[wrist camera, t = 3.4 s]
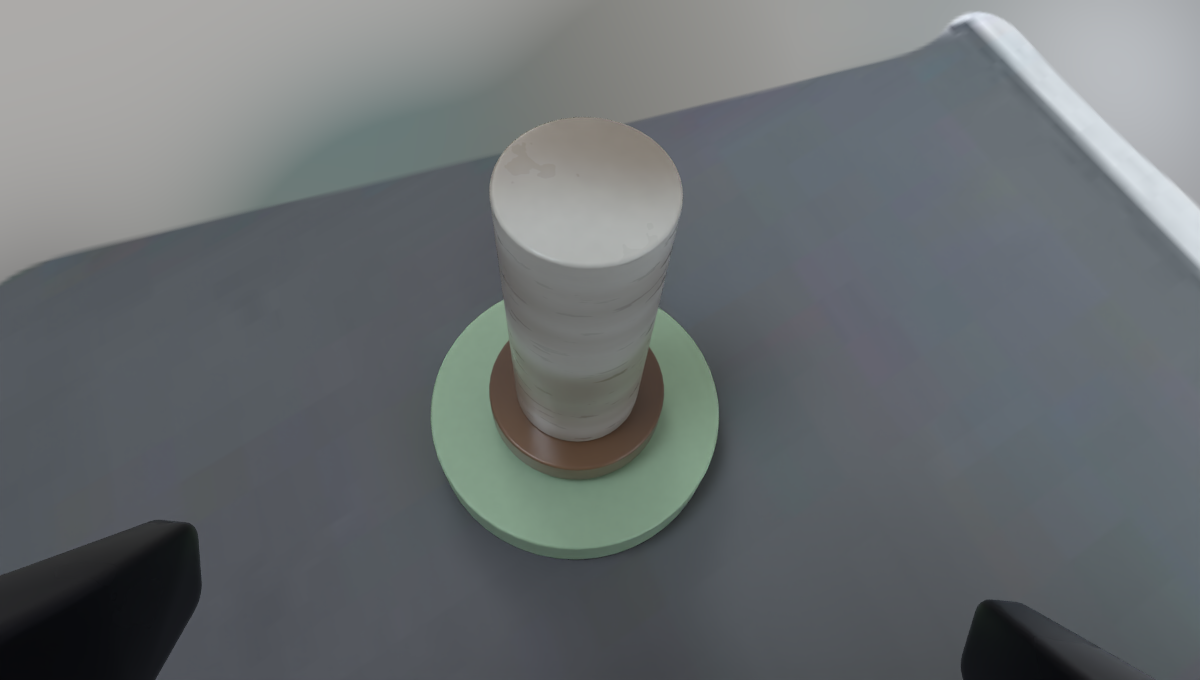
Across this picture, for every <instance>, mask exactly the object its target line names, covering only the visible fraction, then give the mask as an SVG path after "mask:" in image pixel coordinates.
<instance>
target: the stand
mask: <svg viewBox="0 0 1200 680" xmlns="http://www.w3.org/2000/svg"><path fill="white" fill-rule="evenodd" d="M508 340H509V335H508V327H507V320H506V313H505V306H504V300H502V301H500V302H499V303H497V304H495V305H493V306H492V307H491V308H489V309H488V310H486V311H485V312H484V313H482V314H481V315H479V316H478V317H477V318H476V319H475V320H474V321H473V322H472V323H471V324H470V325H469V326H467V328H466V329H465V330H464V331H463V332H462V334H461V335H460V336H459V337H458V338H457V339H456V341H455V342H454V344H453V345H452V347H451V349H450V350H449V352H448V353H447V355H446V357H445V359H444V361H443V363H442V365H441V367H440V370H439V373H438V376H437V379H436V382H435V385H434V390H433V396H432V402H431V428H432V437H433V442H434V446H435V449H436V453H437V457H438V459H439V462H440V464H441V466H442V468H443V471H444V473H445V475H446V477H447V479H448V481H449V484H450V486H451V488H452V489H453V491H454V493H455V494H456V496H457V497H458V499H459V501H460V502H461V504H462V505H463V506H464V507H465V508H466V510H467V511H468V512H469V513H470V514H471V516H472V517H473V518H474V519H475V520H477V521H478V522H479V523H480V524H481V525H482V526H483V527H484V528H485V529H486V530H488V531H489V532H491V533H492V534H494V535H495V536H497V537H498V538H500V539H501V540H503V541H505V542H507V543H509V544H511V545H513V546H515V547H517V548H519V549H522V550H525V551H528V552H531V553H534V554H537V555H541V556H547V557H552V558H557V559H589V558H598V557H603V556H607V555H612V554H616V553H619V552H621V551H624V550H627V549H629V548H632V547H634V546H636V545H638V544H640V543H642V542H644V541H646V540H648V539H649V538H651V537H652V536H654V535H655V534H657V533H658V532H659V531H661V530H662V529H663V528H665V527H666V526H667V525H668V524H669V523H670V522H671V521H672V520H673V519H674V518H675V517H676V516H677V515H678V514H679V513H680V512H681V511H682V509H683V508H684V507H685V506H686V504H687V503H688V502H689V500H690V499H691V497H692V496H693V494H694V492H695V491H696V489H697V487H698V485H699V484H700V482H701V480H702V479H703V477H704V475H705V473H706V472H707V469H708V467H709V464H710V462H711V459H712V457H713V454H714V450H715V445H716V441H717V437H718V426H719V407H718V398H717V393H716V387H715V384H714V381H713V378H712V375H711V372H710V369H709V367H708V365H707V363H706V361H705V359H704V357H703V354H702V353H701V351H700V350H699V348H698V347H697V345H696V344H695V342H694V341H693V339H692V338H691V337H690V336H689V335H688V333H687V332H686V331H685V330H684V329H683V328H682V326H680V325H679V324H678V323H677V322H676V321H675V320H674V319H673V318H672V317H671V316H670V315H668V314H667V313H665V312H664V311H663V310H661V309H660V308H658V311H657V315H656V319H655V324H654V328H653V332H652V336H651V340H650V345H649V347H650V348H651V350H652V352H653V353H654V355H655V357H656V359H657V361H658V363H659V365H660V369H661V372H662V375H663V382H664V401H663V407H662V411H661V414H660V418H659V421H658V424H657V427H656V429H655V431H654V433H653V436H652V438H651V439H650V441H649V442H648V444H647V445H646V447H645V448H644V449H643V450H642V451H641V453H640V454H639V455H638V456H636V457H635V458H634V459H633V460H632V461H631V462H629V463H628V464H626V465H625V466H623V467H622V468H620V469H618V470H616V471H614V472H612V473H609V474H606V475H603V476H600V477H596V478H591V479H580V480H574V479H563V478H557V477H553V476H550V475H547V474H544V473H541V472H539V471H537V470H535V469H533V468H531V467H530V466H528V465H527V464H525V463H523V462H522V461H521V460H520V459H519V458H518V457H516V456H515V455H514V454H513V453H512V452H511V450H510V449H509V448H508V447H507V446H506V444H505V443H504V441H503V440H502V438H501V436H500V434H499V432H498V430H497V428H496V425H495V421H494V418H493V414H492V410H491V404H490V398H489V383H490V376H491V372H492V369H493V365H494V363H495V361H496V358H497V356H498V355H499V353H500V351H501V350H502V348H503V347H504V345H505V344H506V343H507V342H508Z"/></svg>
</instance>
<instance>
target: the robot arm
mask: <svg viewBox="0 0 1200 680" xmlns="http://www.w3.org/2000/svg"><path fill="white" fill-rule="evenodd" d="M201 586H202V582H201V569H200V555H199V541H198V534H197V531H196V529H195V527H194V526H193V525H191V524H190V523H186V522H176V521H165V520H153V521H150V522H147V523H144V524H142V525H139V526H136V527H133V528H131V529H128V530H125V531H122V532H120V533H117V534H114V535H111V536H109V537H106V538H103V539H100V540H98V541H95V542H92V543H89V544H87V545H84V546H81V547H78V548H76V549H73V550H70V551H67V552H65V553H62V554H59V555H56V556H53V557H51V558H48V559H45V560H42V561H40V562H37V563H34V564H31V565H29V566H26V567H23V568H20V569H18V570H15V571H12V572H9V573H7V574H4V575H1V576H0V680H155V679H156V677H157V676H158V674H159V672H160V670H161V669H162V667H163V665H164V663H165V662H166V660H167V658H168V656H169V655H170V653H171V651H172V649H173V648H174V646H175V644H176V642H177V640H178V639H179V637H180V635H181V633H182V632H183V630H184V628H185V626H186V625H187V623H188V621H189V619H190V618H191V616H192V614H193V612H194V611H195V609H196V607H197V604H198V601H199V598H200V594H201ZM961 672H962V677H963V680H1156V679H1154V678H1152V677H1150V676H1149V675H1147V674H1145V673H1143V672H1142V671H1140V670H1138V669H1136V668H1135V667H1133V666H1131V665H1129V664H1128V663H1126V662H1124V661H1122V660H1121V659H1119V658H1117V657H1115V656H1114V655H1112V654H1110V653H1108V652H1107V651H1105V650H1103V649H1101V648H1100V647H1098V646H1096V645H1094V644H1093V643H1091V642H1089V641H1087V640H1086V639H1084V638H1082V637H1080V636H1079V635H1077V634H1075V633H1073V632H1072V631H1070V630H1068V629H1066V628H1065V627H1063V626H1061V625H1059V624H1058V623H1056V622H1054V621H1052V620H1051V619H1049V618H1047V617H1045V616H1044V615H1042V614H1040V613H1038V612H1036V611H1035V610H1033V609H1031V608H1029V607H1028V606H1026V605H1024V604H1022V603H1018V602H1011V601H1000V600H985V601H983V602H981V603H980V604H979V605H978V607H977V609H976V611H975V614H974V618H973V621H972V624H971V627H970V631H969V634H968V637H967V641H966V644H965V647H964V651H963V654H962V659H961Z"/></svg>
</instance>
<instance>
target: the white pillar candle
mask: <svg viewBox="0 0 1200 680" xmlns="http://www.w3.org/2000/svg"><path fill="white" fill-rule="evenodd" d="M489 194H490V204H491V211H492V219H493V226H494V233H495V240H496V248H497V255H498V262H499V269H500V277H501V284H502V291H503V298H504V306H505V313H506V320H507V327H508V335H509V340H508V342H507V343H506V344H505V345H504V347H503V348H502V350H501V351H500V353H499V355H498V356H497V358H496V361H495V363H494V365H493V369H492V372H491V376H490V383H489V398H490V404H491V410H492V414H493V418H494V421H495V425H496V428H497V430H498V432H499V434H500V436H501V438H502V440H503V441H504V443H505V444H506V446H507V447H508V448H509V449H510V450H511V452H512V453H513V454H514V455H515V456H516V457H518V458H519V459H520V460H521V461H522V462H523V463H525V464H527V465H528V466H530V467H531V468H533V469H535V470H537V471H539V472H541V473H544V474H547V475H550V476H553V477H557V478H563V479H574V480H580V479H591V478H596V477H600V476H603V475H606V474H609V473H612V472H614V471H616V470H618V469H620V468H622V467H623V466H625V465H626V464H628V463H629V462H631V461H632V460H633V459H634V458H635V457H636V456H638V455H639V454H640V453H641V451H642V450H643V449H644V448H645V447H646V445H647V444H648V442H649V441H650V439H651V438H652V436H653V433H654V431H655V429H656V427H657V424H658V421H659V418H660V414H661V411H662V407H663V401H664V382H663V375H662V372H661V369H660V365H659V363H658V361H657V359H656V357H655V355H654V353H653V352H652V350H651V348H650V347H649V345H650V340H651V336H652V332H653V328H654V324H655V319H656V315H657V311H658V307H659V302H660V298H661V294H662V290H663V286H664V281H665V277H666V273H667V269H668V265H669V260H670V256H671V252H672V248H673V244H674V239H675V235H676V231H677V227H678V223H679V218H680V214H681V210H682V203H683V188H682V183H681V179H680V176H679V174H678V171H677V168H676V167H675V165H674V163H673V161H672V160H671V158H670V157H669V155H668V154H667V153H666V152H665V151H664V149H663V148H662V147H661V146H660V145H659V144H657V143H656V142H655V141H654V140H653V139H651V138H650V137H648V136H647V135H645V134H644V133H642V132H641V131H639V130H636V129H634V128H632V127H630V126H628V125H625V124H622V123H619V122H615V121H612V120H607V119H601V118H592V117H573V118H565V119H559V120H555V121H551V122H548V123H545V124H542V125H539V126H537V127H535V128H533V129H531V130H529V131H527V132H526V133H524V134H522V135H521V136H519V137H518V138H517V139H516V140H515V141H513V142H512V143H511V144H510V145H509V146H508V147H507V148H506V149H505V151H504V152H503V153H502V155H501V156H500V158H499V159H498V161H497V163H496V165H495V167H494V170H493V173H492V176H491V180H490V187H489Z"/></svg>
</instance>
